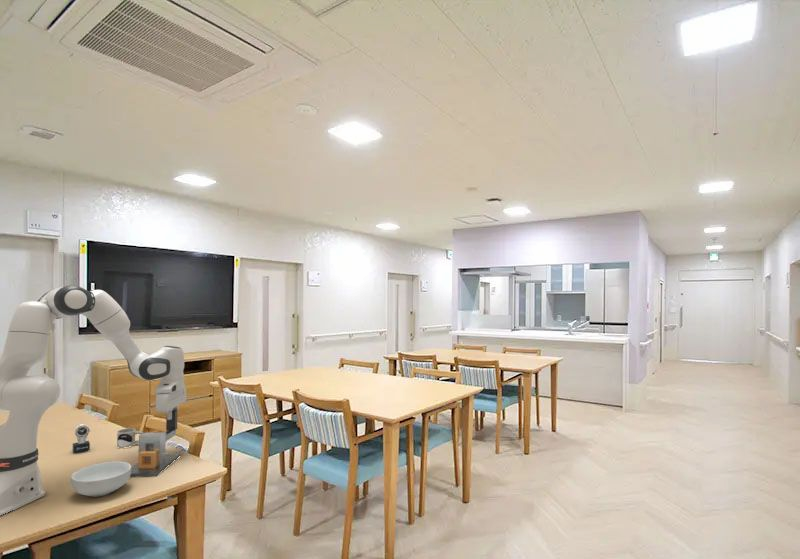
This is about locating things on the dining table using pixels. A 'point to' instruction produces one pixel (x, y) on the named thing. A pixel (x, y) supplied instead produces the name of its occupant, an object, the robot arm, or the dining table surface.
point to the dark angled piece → (170, 427)
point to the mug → (127, 437)
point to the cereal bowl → (100, 478)
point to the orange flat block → (142, 459)
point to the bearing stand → (162, 458)
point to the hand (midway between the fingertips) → (171, 418)
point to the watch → (81, 439)
